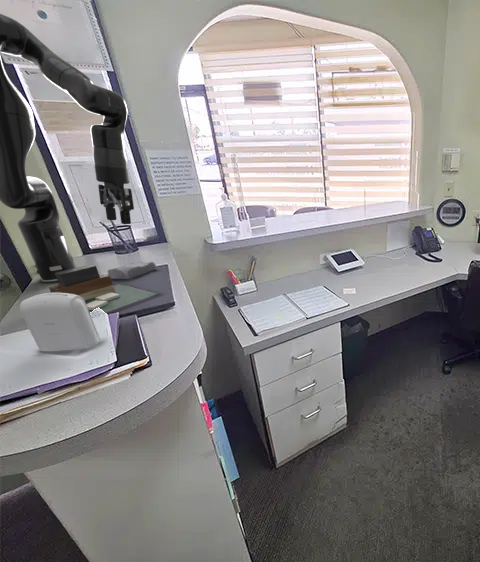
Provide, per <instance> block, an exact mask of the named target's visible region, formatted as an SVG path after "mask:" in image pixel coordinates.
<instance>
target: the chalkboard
mask: <svg viewBox="0 0 480 562" xmlns="http://www.w3.org/2000/svg"><path fill="white" fill-rule="evenodd" d="M113 287H114V289H115V291H113V292H112V293H116V294H119V296H120V297H118V298H115V299H112V300H109V301H108V304H107V305H104V306H102V307H100V309H102V310H103V311H104V312H105V313H104V314H107V313H108V312H112V311H115V310H118V309H120V308H123V307H126V306H129V305H131V304H134V303H137V302H140V301H142V300H145V299H148V298H151V297H153V296H156V295H159V293H157V292H154V291H151V290H145V289H141V288H137V287H133V286H130V285H125V284H121V283H118V284H114V285H113ZM110 293H111V292H110ZM107 294H108V293H107ZM97 297H98V296H97ZM95 300H96V298H95V297H94V298H91V299H88V300H85V303H86V304H88V303H90V302H93V301H95ZM97 301H98V300H97ZM92 311H93V310H89V313H90V312H92Z"/></svg>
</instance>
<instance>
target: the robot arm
mask: <svg viewBox="0 0 480 562" xmlns="http://www.w3.org/2000/svg"><path fill="white" fill-rule="evenodd" d="M1 54H5V55H8V56H11V57H16V58H20V59H23V60H24V61H28V62H29V63H31V64H34V65H35V66H37V67H38V69H39V71H40V73H41V74H42V75H43V77H44V78H45V79H46V80H48V81H49V82H50V83H51V84H53V85H54V86H56V87H57V88H58V89H60V90H62V91H63V92H65V93H66V94H68V95H69V96H70V97H71V98H72V99H73V101H74V102H75V103H76V104H77V105H78V106H79V107H80V108H82V109H84V110H85V111H86V112H88V113H92V114H95V115H99V116H102V117H103V119H102V123H100V124H97V123H96V124H92V125H91V126H90V136H91V144H92V158H93V166H94V172H95V179H96V181H97V182H99V183H103V184H98V185H97V186H98V196H99V203H100V205H101V206H103V208H104V209H105V215H106V216H105V217H106V220H108V221H116V220H118V219H117V212H116V208H115V207H116V206H117V208H118V210H119V217H120V223H121V224H122V225H131V224H132V219H131V211H134V210H135V206H134V200H133V193H132V191H133V190H132V189H131V188H125V185H129V184H130V183H131V180H130V173H129V163H128V162H129V161H128V157H127V154H126V149H125V139H124V133H125V129H126V124H127V119H128V106H127V103H126V101H125V99H124V98H123V96H122V95H120V93H119V92H116V91H114V90H111V89H108V88H104V87H102V86H99V85H97V84H94V83H93V81H92V80H91V78H90V77H88V75H86V73H84V72H82V71H81V70H80V69H78V68H77V67H75V66H74V65H72V64H71V63H69V62H67V60H65V59H64V58H62V57H60V56H59V55H57V54H56V53H54V51H52V50H51V49H50V48H49V47H48V46H47V45H46V44H44V43H43V42H42V41H41V40H40V39H38V37H36V35H35V34H33V33H32V31H30V29H28V28H27V27H26V26H25V25H23V24H21V22H19V21H18V20H16V19H14V18H12V17H10V16H7V15H6V14H5V15H4V14H3V13H0V202H1V203H2V204H3V205H4V206H6V207H7V208H11V209H14V210H24V215H23V216H22V218H21V219H20V220H18V221H17V226H18V227H17V228H18V229H19V231H20V233H21V235H22V238H23V240H24V242H25V244H26V247H27V249H28V252H29V254H30V256H31V258H32V260H33V263H34V265H35V268H36V269H37V270H36V273H38V275H39V277H40V280H41V282H42V283H57V282H58V280H57V277H56V275H55V273H57V272H62V271H66V270H70V269H74V268H77V266H76V263H75V261H74V259H73V256H72V253H71V251H70V248H69V245H68V243H67V240H66V237H65V235H64V232H63V230H62V227H61V225H60V213H59V210H58V206H57V203H56V200H55V197H54V194H53V192H52V190H51V188H50V187H49V185H48V184H47V183H46V182H45V181H44V180H42V179H40V178H38V177H36V176H35V177H34V176H27V170H26V161H27V157H28V155H29V153H30V150H31V148H32V146H33V144H34V141H35V139H36V127H35V119H34V113H33V110H32V108H31V106H30V104H29V103H28V101H27V100H26V99H25V97H24V96H23V95H22V93H21V92H20V91H19V89H18V88H17V87H16V85H15V84H14V83H13V82H12V80H11V79H10V77H9V76H8V73H7V71H6V69H5V66H4V63H3V60H2V55H1Z"/></svg>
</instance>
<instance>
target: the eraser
mask: <svg viewBox="0 0 480 562" xmlns="http://www.w3.org/2000/svg"><path fill="white" fill-rule="evenodd" d="M55 275H56V277H57V280H58V281H57V282H58V284H55V285H52V286H49V287H48V289H49V292H50V293H69V294H74V295H78V296H80V297H82V298H83V299H84V301H85V300H88V299H91V298H94V297H97V296H101V295H104V294H107V293H110V292H113V291H115V289H114V287H113V286H114V284H113V281H112V278H110V276H109V275H108V274H105V273H100V272H99V270H98V268H97V266H96V265H94V264H86V265H82V266H79V267H76V268H74V269H70V270H66V271H62V272H57V273H55Z"/></svg>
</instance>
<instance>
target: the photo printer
mask: <svg viewBox="0 0 480 562" xmlns="http://www.w3.org/2000/svg"><path fill="white" fill-rule="evenodd" d="M19 311H20V312H19V313H20V314H21V317H22V318H23V320H24V322H25V324H26V326H27V328H28V330H29V332H30V334H31V336H32V338H33V341H34V342H35V343H36V346H37V347H38V349H39V351H40V352H57V351H60V352H61V351H72V350H84V349H89V348H90V347H93V346H95V345H97V344H98V343H99V342H100V340H101V337H100V334H99V332H98V330H97V327H96V325H95V322H94V320H93V317H92V318H91V315H90V313H89V310H88V308H87V306H86V303H85V301H84V299H83V298H82V297H80V296H78V295H74V294H69V293H51V292H45V293H39V294H35V295H32V296H30V297H28V298H26V299H24V300H22V301H21V302H20V304H19ZM98 337H99V338H98Z"/></svg>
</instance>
